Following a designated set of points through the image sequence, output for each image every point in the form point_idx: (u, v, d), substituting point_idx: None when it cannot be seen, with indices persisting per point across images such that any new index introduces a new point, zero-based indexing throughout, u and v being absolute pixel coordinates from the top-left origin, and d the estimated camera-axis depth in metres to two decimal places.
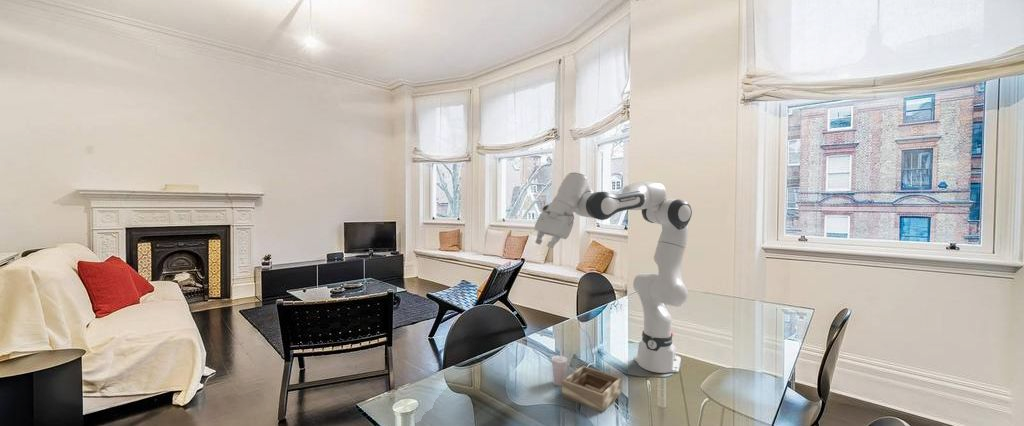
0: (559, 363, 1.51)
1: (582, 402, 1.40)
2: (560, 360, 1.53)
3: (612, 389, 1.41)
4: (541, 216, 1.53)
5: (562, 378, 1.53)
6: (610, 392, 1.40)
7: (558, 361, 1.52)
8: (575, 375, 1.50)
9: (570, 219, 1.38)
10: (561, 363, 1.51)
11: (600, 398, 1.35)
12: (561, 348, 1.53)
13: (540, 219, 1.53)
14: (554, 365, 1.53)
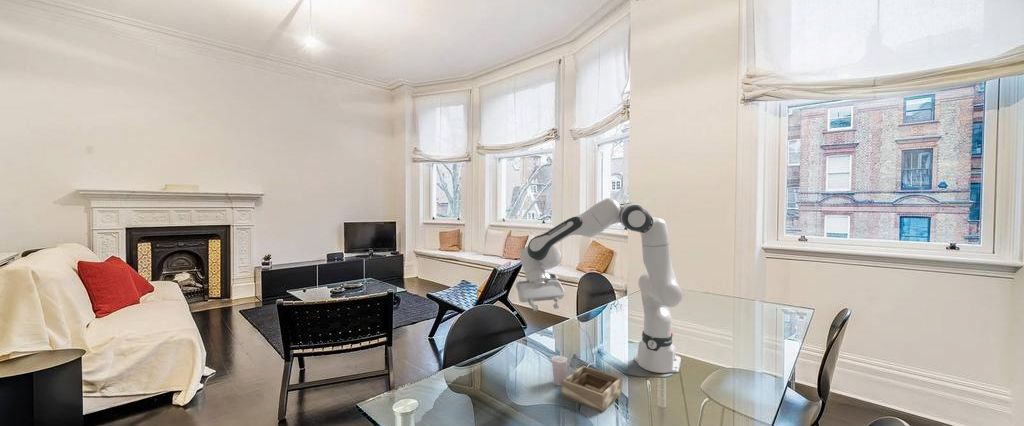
0: (559, 363, 1.51)
1: (582, 402, 1.40)
2: (560, 360, 1.53)
3: (612, 389, 1.41)
4: None
5: (562, 378, 1.53)
6: (610, 392, 1.40)
7: (558, 361, 1.52)
8: (575, 375, 1.50)
9: None
10: (561, 363, 1.51)
11: (600, 398, 1.35)
12: (561, 348, 1.53)
13: None
14: (554, 365, 1.53)
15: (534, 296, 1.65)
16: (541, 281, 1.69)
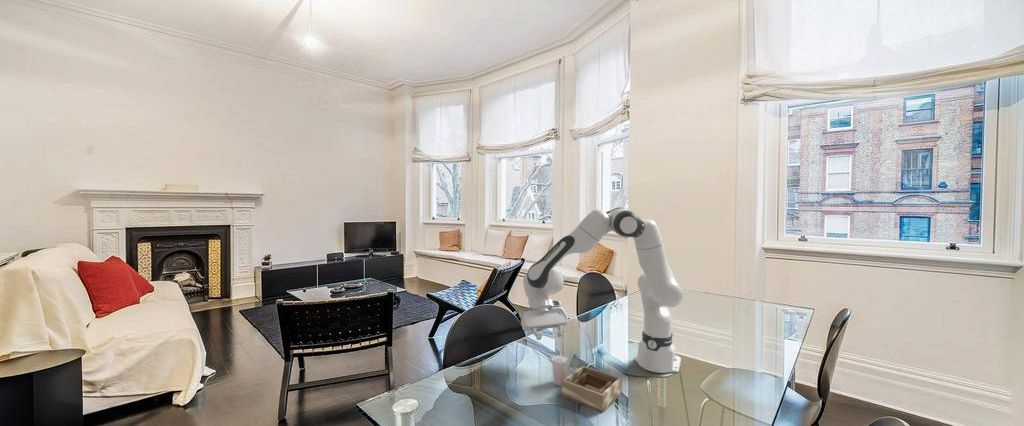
0: (559, 363, 1.51)
1: (582, 402, 1.40)
2: (560, 360, 1.53)
3: (612, 389, 1.41)
4: None
5: (562, 378, 1.53)
6: (610, 392, 1.40)
7: (558, 361, 1.52)
8: (575, 375, 1.50)
9: None
10: (561, 363, 1.51)
11: (600, 398, 1.35)
12: (561, 348, 1.53)
13: None
14: (554, 365, 1.53)
15: (537, 324, 1.62)
16: (544, 308, 1.66)
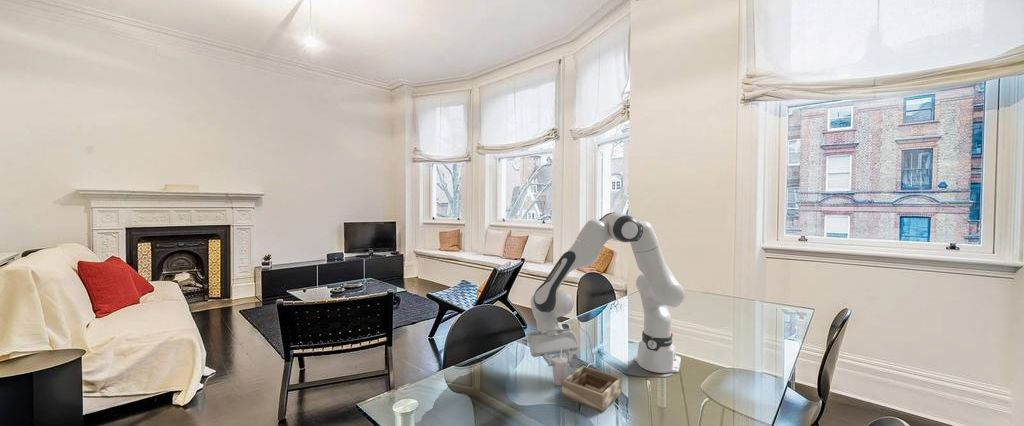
0: (559, 363, 1.51)
1: (582, 402, 1.40)
2: (560, 360, 1.53)
3: (612, 389, 1.41)
4: None
5: (562, 378, 1.53)
6: (610, 392, 1.40)
7: (558, 361, 1.52)
8: (575, 375, 1.50)
9: None
10: (561, 363, 1.51)
11: (600, 398, 1.35)
12: (561, 348, 1.53)
13: None
14: (554, 365, 1.53)
15: (547, 350, 1.54)
16: (554, 333, 1.58)
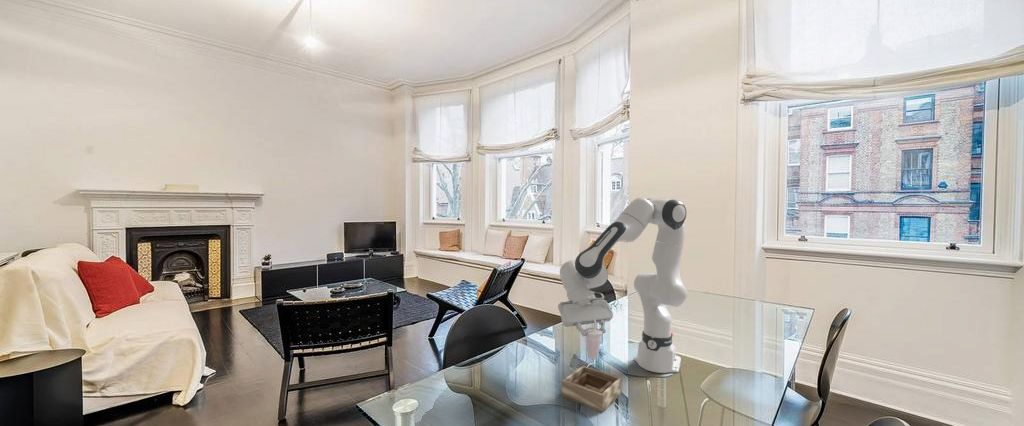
0: (594, 335, 1.42)
1: (582, 402, 1.40)
2: (594, 332, 1.44)
3: (612, 389, 1.41)
4: None
5: (597, 351, 1.44)
6: (610, 392, 1.40)
7: (592, 333, 1.43)
8: (575, 375, 1.50)
9: None
10: (596, 335, 1.42)
11: (600, 398, 1.35)
12: (595, 319, 1.44)
13: None
14: (588, 337, 1.43)
15: (580, 319, 1.45)
16: (586, 302, 1.49)
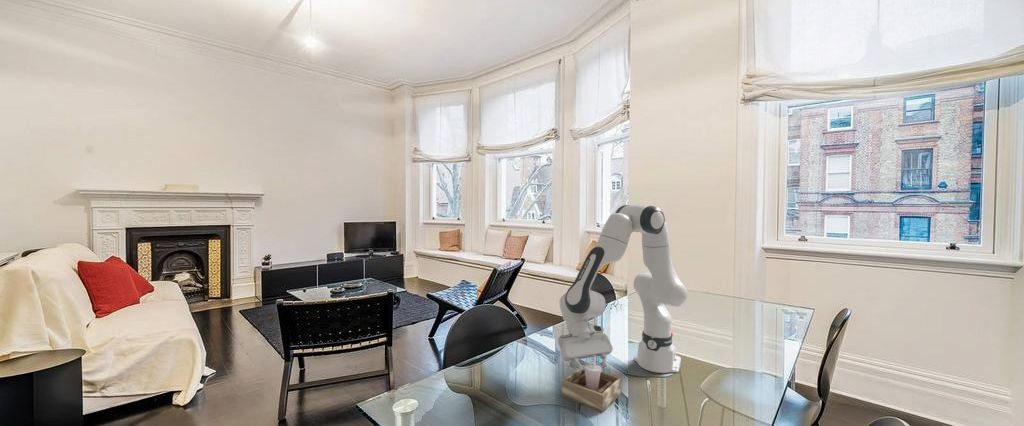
0: (593, 372, 1.43)
1: (582, 402, 1.40)
2: (594, 368, 1.44)
3: (612, 389, 1.41)
4: None
5: (596, 387, 1.44)
6: (610, 392, 1.40)
7: (592, 369, 1.43)
8: (575, 375, 1.50)
9: None
10: (595, 372, 1.43)
11: (600, 398, 1.35)
12: (595, 356, 1.45)
13: None
14: (588, 374, 1.44)
15: (579, 354, 1.45)
16: (586, 335, 1.50)
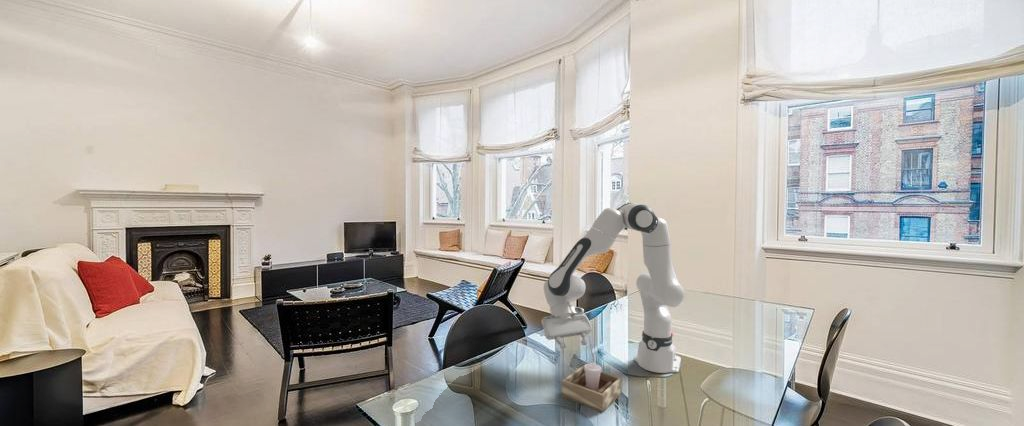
0: (593, 372, 1.43)
1: (582, 402, 1.40)
2: (594, 368, 1.44)
3: (612, 389, 1.41)
4: None
5: (596, 387, 1.44)
6: (610, 392, 1.40)
7: (592, 369, 1.43)
8: (575, 375, 1.50)
9: None
10: (595, 372, 1.43)
11: (600, 398, 1.35)
12: (595, 356, 1.45)
13: None
14: (588, 374, 1.44)
15: (561, 333, 1.58)
16: (567, 316, 1.63)
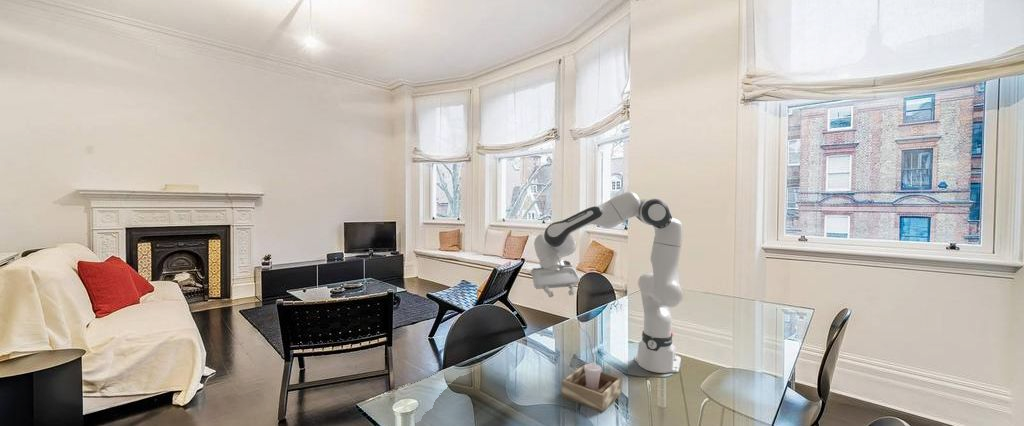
0: (593, 372, 1.43)
1: (582, 402, 1.40)
2: (594, 368, 1.44)
3: (612, 389, 1.41)
4: None
5: (596, 387, 1.44)
6: (610, 392, 1.40)
7: (592, 369, 1.43)
8: (575, 375, 1.50)
9: None
10: (595, 372, 1.43)
11: (600, 398, 1.35)
12: (595, 356, 1.45)
13: None
14: (588, 374, 1.44)
15: (549, 283, 1.64)
16: (556, 268, 1.68)
